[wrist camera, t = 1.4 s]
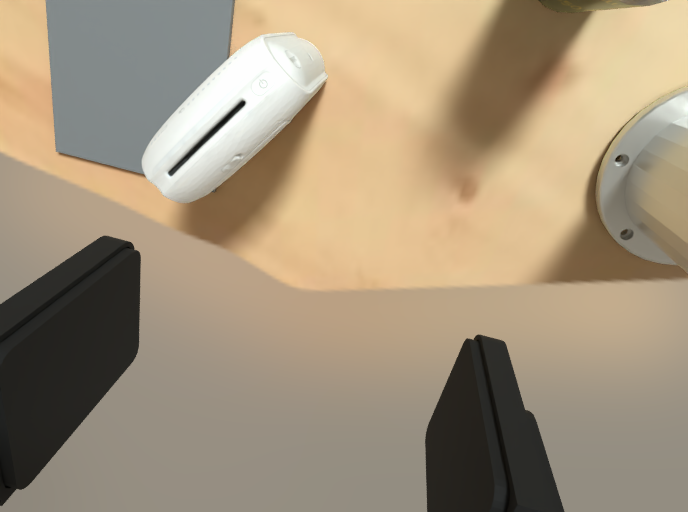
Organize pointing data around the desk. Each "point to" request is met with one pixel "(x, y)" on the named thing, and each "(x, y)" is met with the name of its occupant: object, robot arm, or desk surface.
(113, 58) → the felt mat
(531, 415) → the robot arm
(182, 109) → the photo printer
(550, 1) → the beer can
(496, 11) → the desk surface
